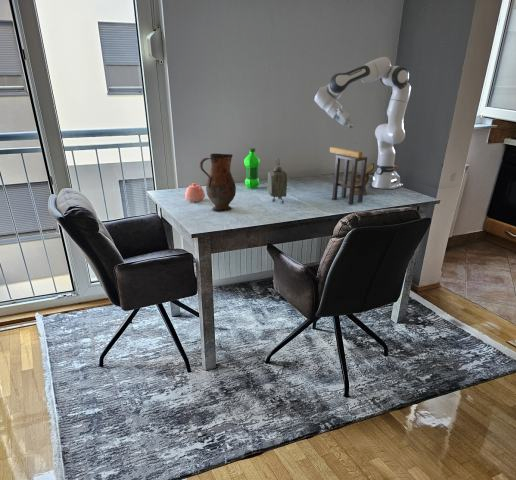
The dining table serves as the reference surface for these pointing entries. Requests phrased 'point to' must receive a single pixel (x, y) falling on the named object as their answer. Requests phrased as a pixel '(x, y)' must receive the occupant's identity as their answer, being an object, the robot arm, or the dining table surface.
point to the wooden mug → (365, 179)
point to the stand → (353, 177)
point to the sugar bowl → (194, 193)
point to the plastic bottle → (252, 169)
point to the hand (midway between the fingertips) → (352, 126)
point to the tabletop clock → (277, 183)
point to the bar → (346, 152)
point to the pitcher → (220, 181)
